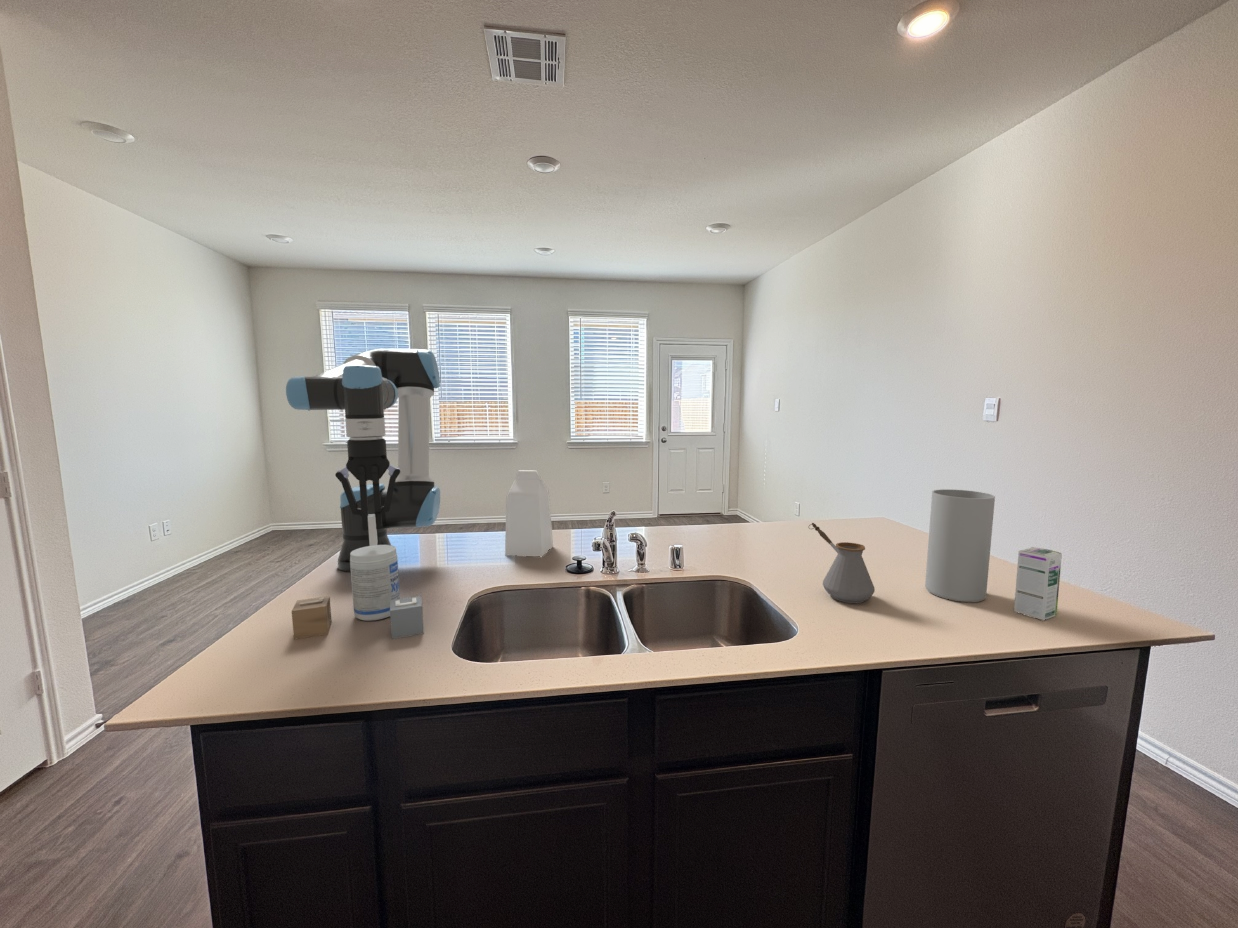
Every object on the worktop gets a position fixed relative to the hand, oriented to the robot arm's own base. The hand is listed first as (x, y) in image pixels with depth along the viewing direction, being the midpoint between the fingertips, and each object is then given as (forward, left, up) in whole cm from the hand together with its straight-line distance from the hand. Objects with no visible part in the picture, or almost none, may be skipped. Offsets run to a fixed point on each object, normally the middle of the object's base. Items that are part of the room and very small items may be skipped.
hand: (373, 543), depth 111 cm
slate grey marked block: (+12, +6, -16) cm, 21 cm away
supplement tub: (0, 0, -16) cm, 16 cm away
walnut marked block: (+4, -12, -16) cm, 21 cm away
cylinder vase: (+46, +130, -16) cm, 139 cm away
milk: (-33, +43, -16) cm, 56 cm away
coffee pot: (+32, +105, -16) cm, 111 cm away
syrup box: (+61, +134, -16) cm, 148 cm away
